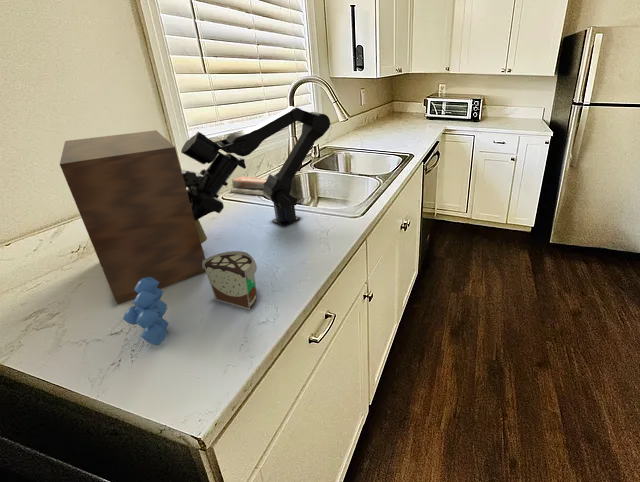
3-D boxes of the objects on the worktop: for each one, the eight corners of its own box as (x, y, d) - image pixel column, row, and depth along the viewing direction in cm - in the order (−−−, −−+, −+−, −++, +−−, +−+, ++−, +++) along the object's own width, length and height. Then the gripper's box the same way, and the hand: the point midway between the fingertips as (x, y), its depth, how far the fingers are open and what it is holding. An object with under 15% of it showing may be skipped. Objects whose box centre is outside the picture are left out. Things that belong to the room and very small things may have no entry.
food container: (275, 292, 74) (268, 255, 70) (255, 311, 68) (246, 271, 65) (232, 282, 78) (223, 245, 74) (210, 298, 72) (200, 260, 69)
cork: (194, 248, 87) (184, 210, 83) (176, 245, 88) (164, 208, 84) (212, 236, 92) (202, 201, 88) (194, 234, 93) (184, 199, 89)
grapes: (136, 323, 66) (117, 273, 61) (176, 310, 69) (160, 262, 64) (127, 366, 56) (104, 311, 52) (174, 349, 59) (155, 296, 55)
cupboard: (185, 233, 100) (156, 130, 88) (208, 270, 82) (175, 146, 70) (110, 256, 89) (64, 141, 77) (117, 304, 71) (59, 164, 59)
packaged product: (227, 181, 130) (244, 173, 139) (229, 192, 131) (246, 184, 140) (266, 184, 125) (281, 176, 134) (268, 196, 127) (283, 187, 136)
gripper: (182, 150, 90) (145, 198, 88) (198, 165, 78) (156, 221, 75) (218, 171, 98) (186, 215, 95) (239, 187, 85) (202, 238, 83)
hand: (182, 221), depth 87 cm, fingers closed on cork, 5 cm apart
